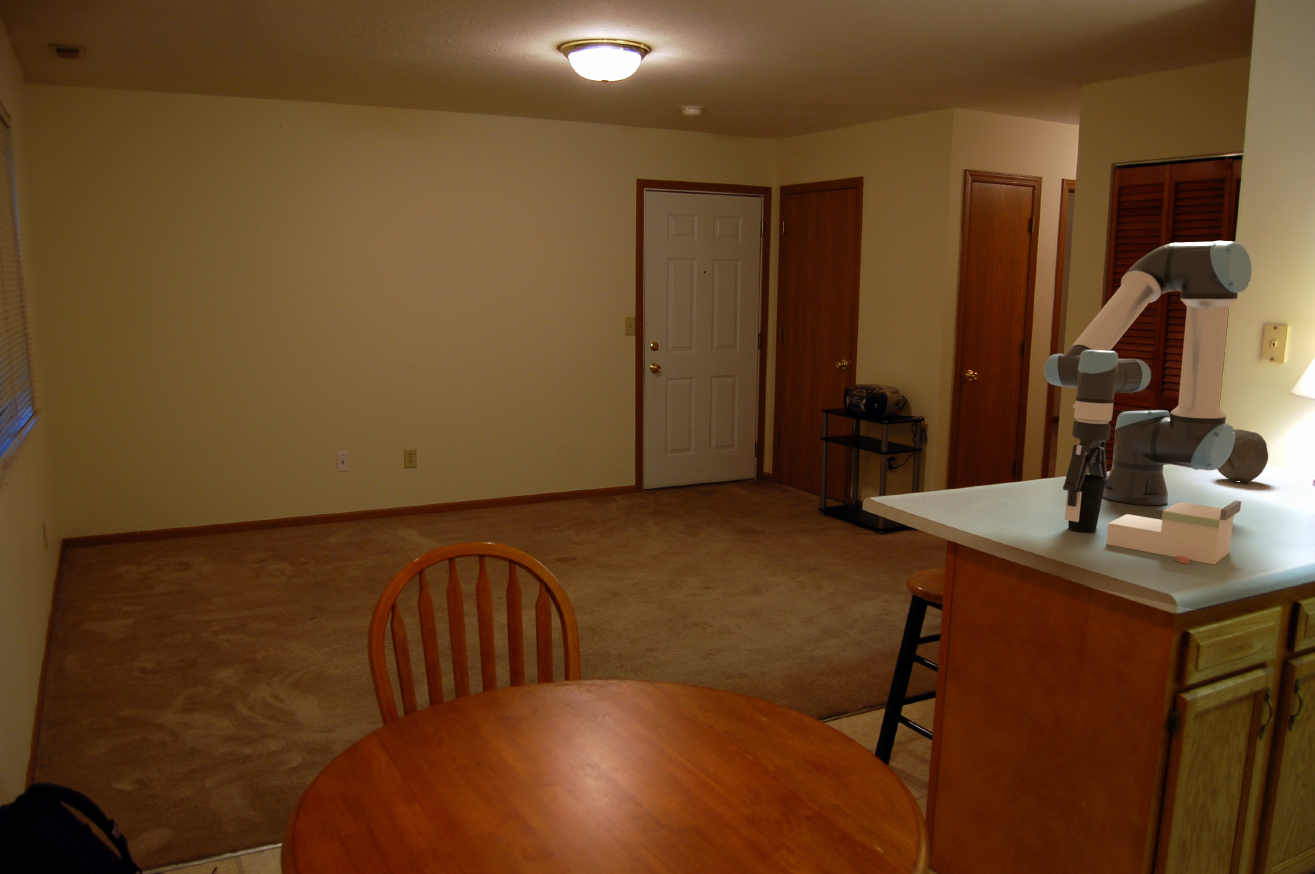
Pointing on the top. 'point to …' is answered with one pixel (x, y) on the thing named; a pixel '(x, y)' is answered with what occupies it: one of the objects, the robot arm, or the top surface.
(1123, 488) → the robot arm
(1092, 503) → the cup
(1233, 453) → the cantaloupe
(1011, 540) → the top surface
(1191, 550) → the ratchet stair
